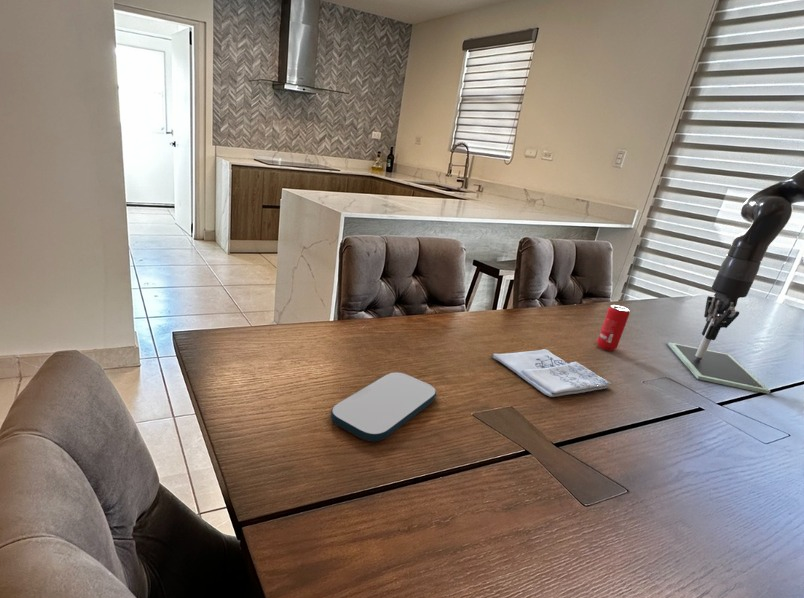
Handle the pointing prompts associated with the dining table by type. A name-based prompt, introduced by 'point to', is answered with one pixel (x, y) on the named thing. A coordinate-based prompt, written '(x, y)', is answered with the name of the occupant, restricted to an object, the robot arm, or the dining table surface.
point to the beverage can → (613, 327)
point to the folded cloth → (552, 373)
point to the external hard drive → (383, 406)
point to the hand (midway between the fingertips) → (707, 337)
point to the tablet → (718, 368)
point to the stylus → (703, 346)
